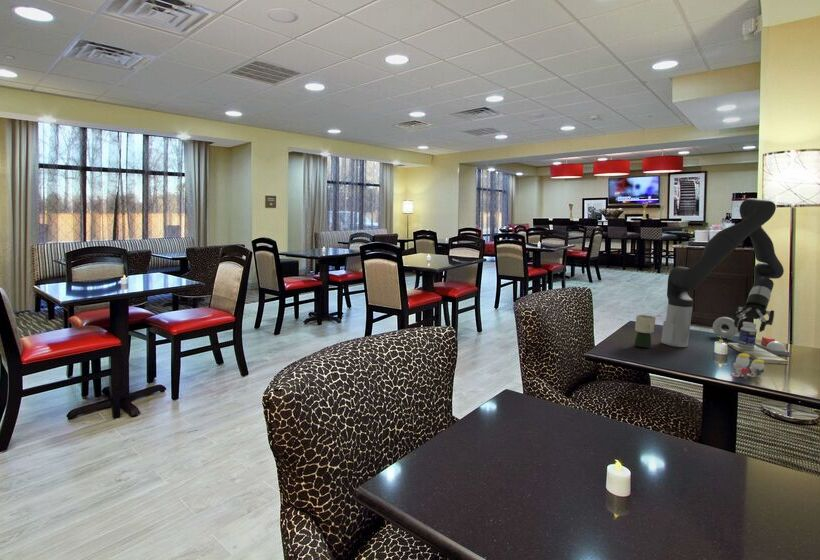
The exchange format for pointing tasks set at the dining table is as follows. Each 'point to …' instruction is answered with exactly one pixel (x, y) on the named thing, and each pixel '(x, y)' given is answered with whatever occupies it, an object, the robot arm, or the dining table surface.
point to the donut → (727, 321)
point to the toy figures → (743, 362)
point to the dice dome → (772, 346)
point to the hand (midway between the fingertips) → (748, 328)
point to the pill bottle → (747, 334)
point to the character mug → (644, 330)
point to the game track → (758, 353)
